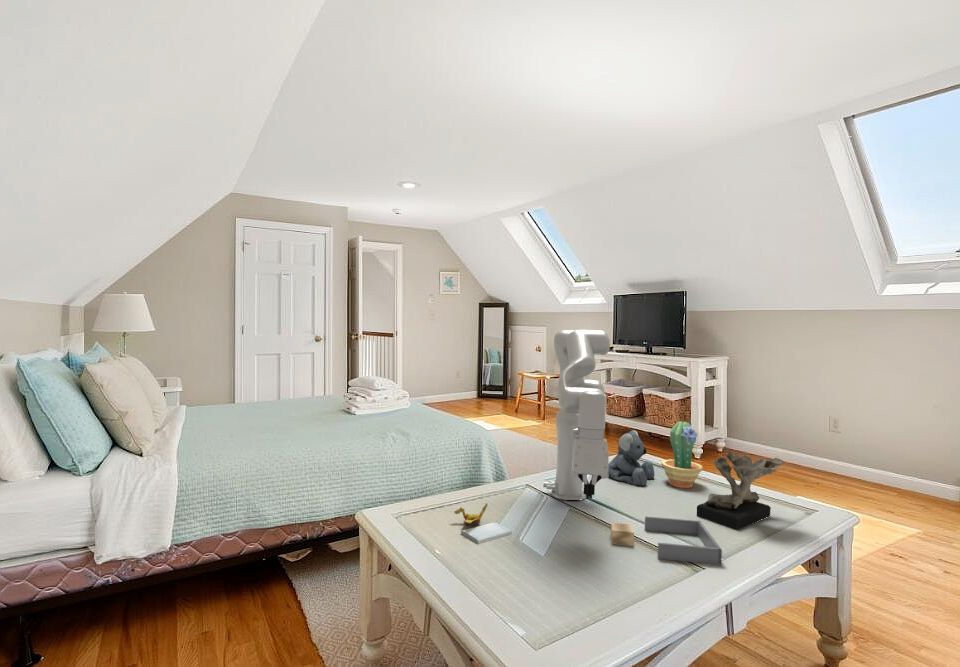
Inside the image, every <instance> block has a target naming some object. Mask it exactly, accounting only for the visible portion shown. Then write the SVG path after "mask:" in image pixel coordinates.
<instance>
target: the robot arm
mask: <svg viewBox="0 0 960 667" xmlns="http://www.w3.org/2000/svg"><path fill="white" fill-rule="evenodd" d="M553 347H554V352H555V356H556V358H557V359H556V360H557V362H558V366H559V377H558V381H557V396H558V404H559V407H560V408H561V409H560V410H558V411H557V412H556V415H555V427H556V436H557V438H556V440H557V445H556V446H557V447H556V448H557V449H556V468H555V469H556V474H555V475H556V476H555V480H554V481H552V482H549V481H544V482H543V483H542V484H543V488H546V490H551V492H550V494H551V496H553V497H554V498H556V499H558V498H559V500H561V499H564V500H563V501H566V500H580V499H584V500H585V499H591V500H592V499H593V496H595V493H596V492H595V486H596V484H597V483H598V482H600V480H605V479H608V478H609V477H610V475H609V474H608V468H609V463H610V462H609V460H610V459H609V447H608V446H609V445H608V444H609V443H608V440H607V439H606V438H605V431H606V429H605V428H606V406H607V395H606V394H605V389H604V388H605V387H604V384H603V383H602V381H601V380H598V379H589V378H587V379H586V378H584V377H587V376H589V375H590V374H592V373H593V372H594V371H595V369H596V364H597V363H596V360H595V359H596V358H595V356H599V355H600V356H606V355H607V354H608V353H609V351H610V347H611V340H610V337H609V334H608V333H607V332H606V331H605V330H600V329H599V330H597V329H564V330H560V331H557V332H556V333H555V334H554V339H553ZM589 475H590V476H591V478H590V480H588V476H589ZM580 501H581V500H580Z"/></svg>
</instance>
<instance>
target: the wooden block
mask: <svg viewBox="0 0 960 667" xmlns="http://www.w3.org/2000/svg"><path fill="white" fill-rule="evenodd" d="M610 525H611V526H610V529H611V530H610V540H611V544H613V545H620V546H628V547H629V546H630V547H634V545H635V529H634V525H633V524H628V523H620V522H611V524H610Z"/></svg>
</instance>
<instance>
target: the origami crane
mask: <svg viewBox="0 0 960 667" xmlns="http://www.w3.org/2000/svg"><path fill="white" fill-rule="evenodd" d="M488 505H489V504H488V503H487V502H486V503H485V505H483V507H482V509H481V511H480V512H479V514H478V513H471V514H469V513H467V512H466V510H465V508H463V507H459V508H457V509H456V510H455V511H453V512H454V514H455V515H459V514H460V513H462V516H463V519H464V523H465V525H466V526H469V524H470V525H471V524H472V522H474V521H476V523H477V526H480V523H481V522H480V521H481V519H482V517H483V515H484V513H485V512H486V510H487V508H488Z"/></svg>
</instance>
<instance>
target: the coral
mask: <svg viewBox="0 0 960 667" xmlns="http://www.w3.org/2000/svg"><path fill="white" fill-rule="evenodd" d="M725 456H726V457H721V456H720V457H718V458H717V459H716V460H715V459H713V460H712V462H713V465H714V466H715V468H716V469H717V470H718V471H719V474H720V475H721V476H722V477H724V479H726V481H727V482H728V483H729V485H730V487H731V494H718V493H710V494H709V495H708V498H707V500H706V501H705V502H703V503H701V504H698V505H697V506H696V517H698V518H701V519H704V520H707V521H710V522H712V523H714V524H715V523H716V524H718V525H720V526H724V527H726V528H729V529H732V530H734V531H738V530H742V529H744V528H746V527H748V525H749V526H751V525H753V524H752V523H754V524H756V523H758V522H757V521H759V520H761V519H764V518H766V517H769V516H770V517H771V509H772V507H771V506H770V505H768V504H765V503H762V502H759V500H760V496H759V495H758V493H757V492H756V491H753V492H752V491H751V486H752V484H753V483H754V482H755V481H756V480H758V479H760V478H761V477H764V476H766V475H771V474H773V473H775V472H777V471H778V470H779V469H778V468H777V467H780V466H782V465H783V464H785V461H784V460H783V459H780V458H778V457H773V460H771V459H766V460H765V459H763V458H759V459H758V460H755V461H754V462H753V460H752V459H751V457H750V456H748V455H745V454H743V455H738V454H737V453H736V451H734V452H733V454H732V452H731V451H728V452H726V453H725ZM727 459H728V460H729V461H730V462H731V464H732V466H730V464H729V462H728V461H727ZM732 469H733V471H734V472H735V474H736V476H737V478H738V479H739V480H740V483H739V484H738V483H737V482H736V480H735V478H734V477H733V476H732V475H731V470H732ZM770 517H769V518H770ZM766 519H767V518H766ZM764 520H765V519H764ZM761 521H762V520H761ZM755 522H756V523H755ZM759 522H760V521H759ZM750 524H751V525H750Z"/></svg>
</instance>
